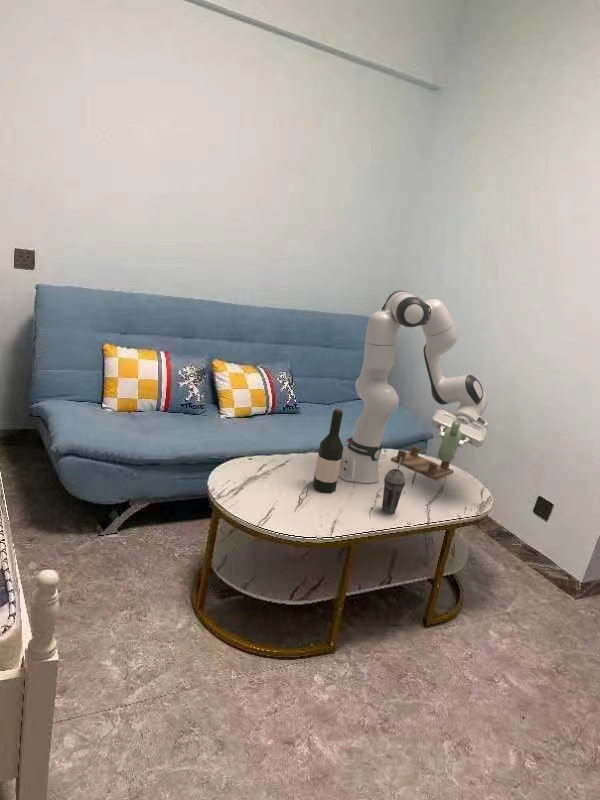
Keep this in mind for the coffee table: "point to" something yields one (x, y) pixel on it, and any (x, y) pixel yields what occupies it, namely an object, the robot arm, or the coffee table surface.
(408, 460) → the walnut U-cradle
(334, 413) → the wine bottle
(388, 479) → the beverage cup
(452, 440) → the olive glass bottle
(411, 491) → the coffee table surface
